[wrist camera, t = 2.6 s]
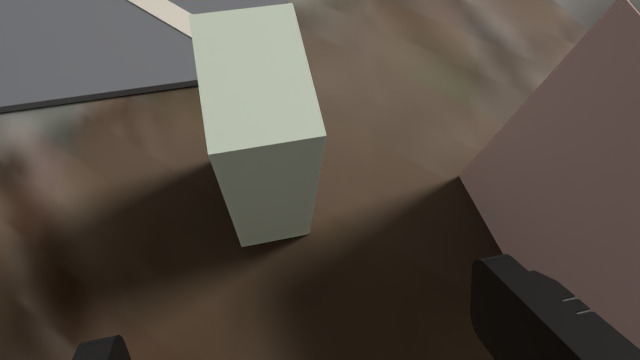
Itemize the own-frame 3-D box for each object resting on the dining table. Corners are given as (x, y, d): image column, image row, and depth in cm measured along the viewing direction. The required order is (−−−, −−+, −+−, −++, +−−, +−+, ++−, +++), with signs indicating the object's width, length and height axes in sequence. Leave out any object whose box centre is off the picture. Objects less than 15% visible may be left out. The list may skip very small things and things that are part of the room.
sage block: (241, 247, 26) (208, 154, 15) (227, 155, 28) (188, 14, 17) (309, 234, 26) (326, 135, 15) (289, 145, 28) (292, 3, 17)
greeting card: (575, 356, 24) (946, 341, 11) (443, 325, 25) (642, 270, 11) (572, 173, 29) (832, -3, 15) (461, 148, 29) (618, -50, 15)
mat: (-11, 114, 28) (-18, 108, 27) (1, -56, 33) (-5, -65, 33) (303, 70, 31) (303, 64, 30) (266, -79, 36) (265, -87, 36)
